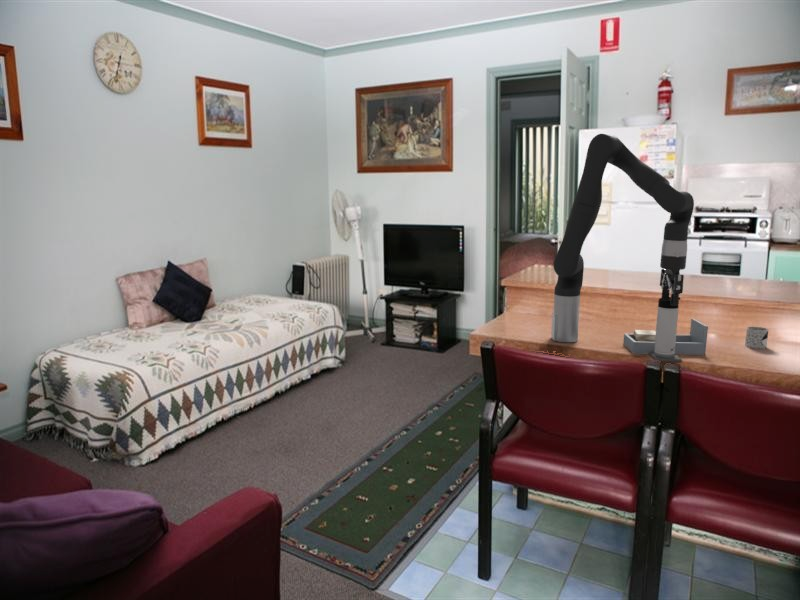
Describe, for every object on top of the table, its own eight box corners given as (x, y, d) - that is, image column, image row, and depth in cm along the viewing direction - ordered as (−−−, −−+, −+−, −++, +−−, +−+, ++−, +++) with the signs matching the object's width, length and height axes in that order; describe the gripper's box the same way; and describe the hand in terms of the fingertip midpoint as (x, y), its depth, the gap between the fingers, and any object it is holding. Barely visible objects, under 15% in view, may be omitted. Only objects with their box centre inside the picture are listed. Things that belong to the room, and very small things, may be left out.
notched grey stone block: (766, 350, 213) (768, 331, 211) (744, 347, 216) (746, 329, 215) (766, 343, 221) (768, 326, 220) (745, 341, 224) (747, 323, 223)
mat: (656, 361, 200) (656, 358, 199) (648, 354, 207) (648, 352, 207) (681, 361, 199) (681, 359, 199) (672, 354, 207) (673, 352, 207)
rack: (632, 353, 209) (634, 325, 207) (623, 344, 221) (625, 317, 219) (705, 354, 207) (708, 326, 205) (691, 345, 219) (694, 318, 217)
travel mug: (677, 358, 199) (682, 299, 196) (656, 357, 201) (660, 298, 197) (673, 353, 205) (677, 295, 202) (652, 352, 207) (656, 294, 203)
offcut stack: (635, 350, 213) (636, 334, 211) (632, 345, 219) (633, 329, 218) (660, 352, 211) (661, 335, 210) (656, 346, 218) (657, 330, 216)
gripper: (654, 251, 204) (650, 298, 207) (669, 256, 190) (664, 307, 193) (677, 251, 203) (673, 299, 206) (694, 256, 189) (689, 307, 192)
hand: (669, 302), depth 200 cm, fingers open, 8 cm apart
